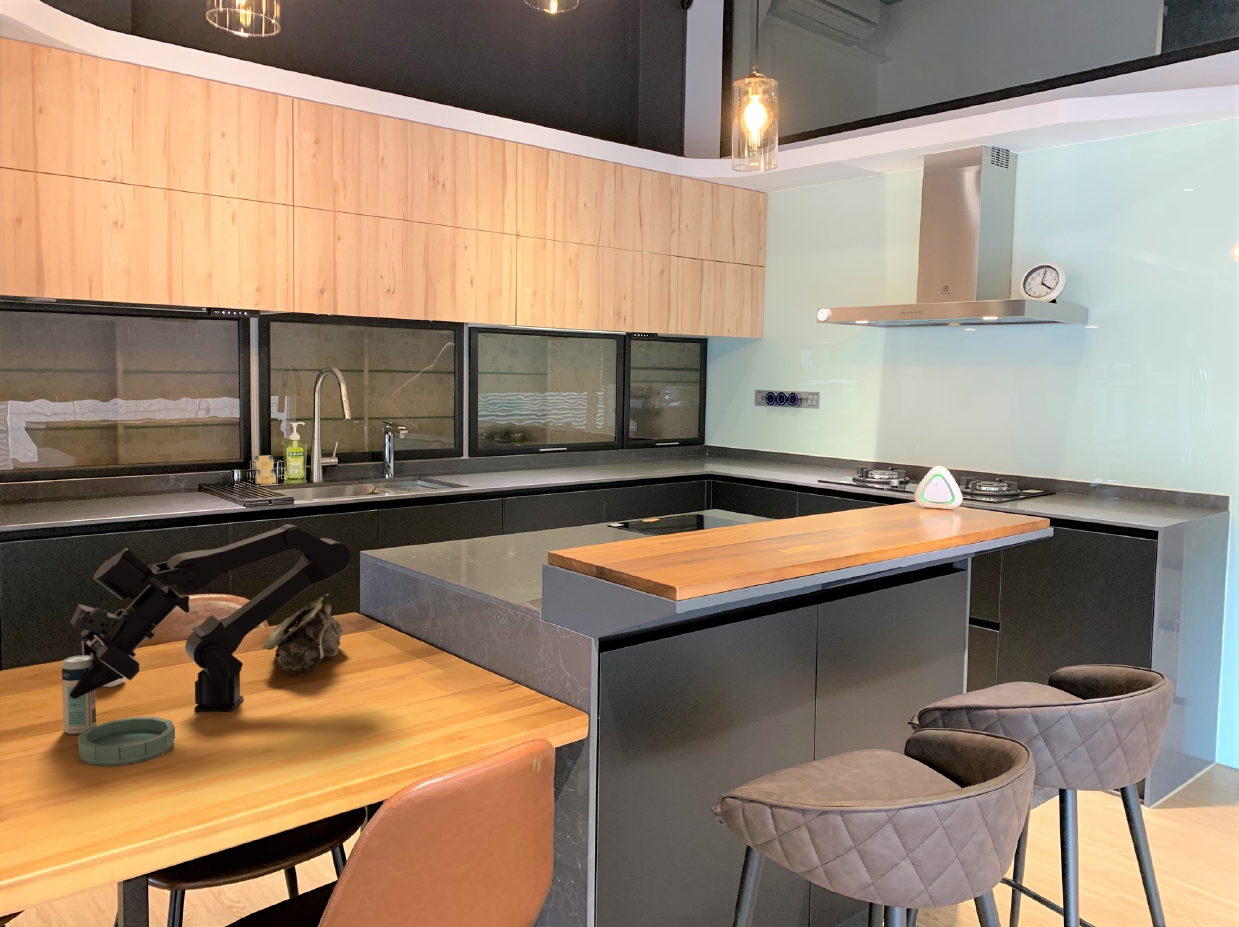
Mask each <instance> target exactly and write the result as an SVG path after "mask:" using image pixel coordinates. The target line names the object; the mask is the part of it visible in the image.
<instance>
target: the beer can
mask: <svg viewBox="0 0 1239 927" xmlns="http://www.w3.org/2000/svg"><path fill="white" fill-rule="evenodd" d="M89 667H90V656H88V655H82V654H81V655H73V656H69V657H67V658H64V660H63V662H62V664H61V666H60V668H61V688H62V725H63V726H62V727H63V728H62V731H63V733H65V734H68V735H71V736H73V735H74V736H75V735H76V736H77V735H78V736H79V735H80V734H82V733H83V732H84V731H86V730H87V729H88V728H90V727H93V726H96V725H97V708H96V707H97V706H96V704H97V703H96V701H97V700H96V689H95V690H93V691H91V692H89V693H86V694H84V695H82V696H80V697H78V698H76V699H73V698H72V697H70V695H69V694H70V692H71V691H72V690H73V688H74V687H75V685H76V684H77V683H78V681H79V680H80V679H81V677H82V676H83V675H84V673H85V672H86V671H87V669H88V668H89Z"/></svg>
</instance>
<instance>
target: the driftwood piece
mask: <svg viewBox="0 0 1239 927" xmlns="http://www.w3.org/2000/svg"><path fill="white" fill-rule="evenodd" d="M329 594H330V593H324V594H322V595H320V596H319V597H317V598H315V599H313V600H312V601H310V602H309V603H307V604H306V605H304V606H303V607H302V608H300V609H299V610H297V611H296V612H295V613H293V614H292V615H291V616H290V617H289V616H288V617H286V618H285V619H284V620H283V621H281V622H280V623H279V624H278V625H276V627H275V628H273V630H272V632H271V633H270V634H269V635H268V640H267V641H266V644H265V645H262V649H264V650H268V651H271V650H274V649H275V647H276V646H277V647H276V650H275V654H274V657H275V663H276V664H277V666H278V667H279V668H280V669H282V670H283V671H286V672H288V673H290V674H291V673H292V674H294V675H295V676H304V675H307V673H308V672H310V671H311V670H313V669H314V668H315V667H317V666H320V662H321V661H322V659H323V658H324V657H333V656H336V655H338V653H339V651H340V650H339V647H340V645H341V642H340V641H341V638H342V636H343V628H342V625H341V624H340V622H339V621H338V620H337V619H335V617H333V616H332V615H331V613H332V612H331V611H332V607H331V605H330V603H328V602H327V601H324V599H325V598H326V597H328V596H329Z"/></svg>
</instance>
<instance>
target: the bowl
mask: <svg viewBox="0 0 1239 927" xmlns="http://www.w3.org/2000/svg"><path fill="white" fill-rule="evenodd" d="M175 739H176V727H175V724H174V722H173V721H172V720H170V719H165V718H162V717H159V716H133V717H126V718H120V719H115V720H113V719H112V720H108V721H106V722H102V723H99V724H96V726H93V727H90V728H88V729H87V730H86V731H84V732H83V733H82V734H78V736H77V741H78V743H77V744H78V745H77V746H78V751H79V752H78V754H79V760H80V761H81V762H83V763H85V764H88V765H91V766H98V767H117V766H127V765H133V764H138V763H141V762H147V761H149V760H152V759H155V758H157V757H160V756H162V755H164V754H166V753H167V752H169V751H171V750H172V749H173V747H174V745H175Z"/></svg>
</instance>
